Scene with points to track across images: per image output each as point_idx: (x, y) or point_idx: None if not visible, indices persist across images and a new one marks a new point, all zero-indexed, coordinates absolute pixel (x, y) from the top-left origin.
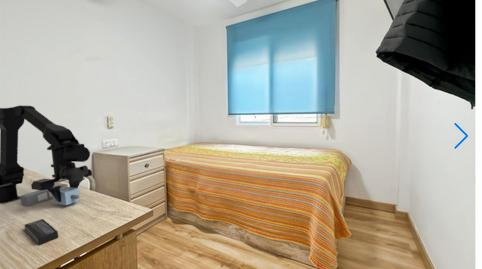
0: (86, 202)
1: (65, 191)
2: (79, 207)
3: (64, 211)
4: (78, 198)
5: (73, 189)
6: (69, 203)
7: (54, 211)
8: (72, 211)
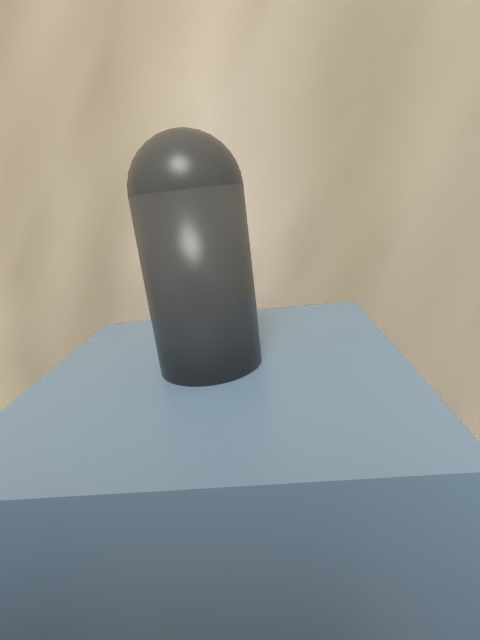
0: (53, 238)
1: (366, 597)
2: (224, 124)
3: (421, 209)
4: (106, 336)
5: (75, 530)
6: (295, 308)
7: (460, 366)
8: (382, 54)
